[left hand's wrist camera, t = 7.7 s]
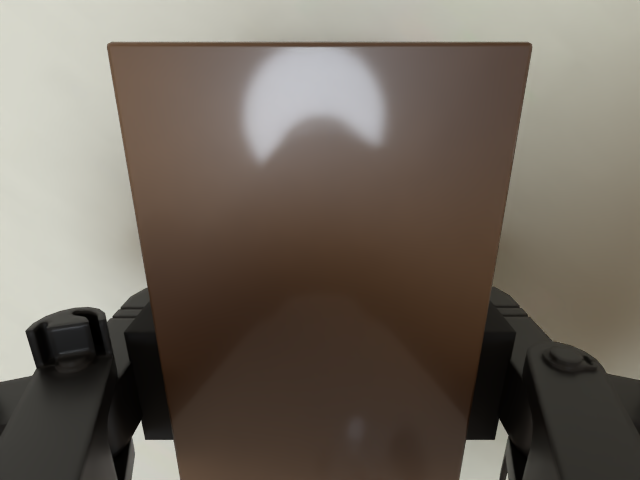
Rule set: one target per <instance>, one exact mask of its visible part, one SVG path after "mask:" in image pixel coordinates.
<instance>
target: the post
mask: <svg viewBox="0 0 640 480" xmlns="http://www.w3.org/2000/svg"><path fill="white" fill-rule="evenodd" d="M107 50H108V56H109V62H110V68H111V74H112V80H113V85H114V91H115V97H116V103H117V109H118V115H119V121H120V127H121V133H122V138H123V144H124V150H125V156H126V162H127V168H128V174H129V180H130V186H131V192H132V197H133V203H134V209H135V215H136V221H137V227H138V233H139V239H140V245H141V250H142V256H143V262H144V268H145V274H146V280H147V286H148V292H149V298H150V304H151V309H152V315H153V321H154V327H155V333H156V339H157V345H158V351H159V357H160V362H161V368H162V374H163V380H164V386H165V392H166V398H167V404H168V410H169V416H170V421H171V427H172V433H173V439H174V445H175V451H176V457H177V463H178V469H179V474H180V480H459V478H460V472H461V466H462V460H463V454H464V448H465V442H466V436H467V430H468V425H469V419H470V413H471V407H472V401H473V395H474V389H475V383H476V377H477V371H478V365H479V360H480V354H481V348H482V342H483V336H484V330H485V324H486V318H487V312H488V306H489V300H490V294H491V289H492V283H493V277H494V271H495V265H496V259H497V253H498V247H499V241H500V235H501V229H502V223H503V218H504V212H505V206H506V200H507V194H508V188H509V182H510V176H511V170H512V164H513V158H514V153H515V147H516V141H517V135H518V129H519V123H520V117H521V111H522V105H523V99H524V93H525V87H526V82H527V76H528V70H529V64H530V58H531V52H532V44H531V43H529V42H110V43H108V44H107Z"/></svg>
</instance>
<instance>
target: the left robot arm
mask: <svg viewBox="0 0 640 480" xmlns="http://www.w3.org/2000/svg"><path fill="white" fill-rule="evenodd" d="M25 332H26V335H27V338H28V341H29V345H30V348H31V351H32V355H33V358H34V361H35V365H36V368H37V369H36V370H35V372H34V374H33V376H29V377H24V378H19V379H14V380H9V381H4V382H0V480H131V479H132V472H133V464H134V457H135V451H134V445H133V440H132V436H133V434H134V432H135V430H136V428H137V426H138V425H139V423H140V421H142V426H143V431H144V436H145V440H174V439H173V433H172V427H171V421H170V416H169V410H168V404H167V398H166V392H165V386H164V380H163V374H162V368H161V362H160V357H159V351H158V345H157V339H156V333H155V327H154V321H153V315H152V309H151V304H150V298H149V292H148V288H145V289H143V290H142V291H140V292H138V293H136V294H135V295H133V296H131V297H130V298H129V299H128V300H127V301H126V302H125V303H124V304H123V306H122V307H121V309H119V310H118V311H117V312H116V313H115V314H114V315H113V318H111V319H110V320H109V321H108V322H107V320H106V316H105V313H104V312H103V311H101V310H100V309H97V308H91V307H81V308H72V309H67V310H63V311H59V312H56V313H53V314H51V315H48V316H45V317H44V318H42V319H40V320H38V321H37V322H35V323H33V324H32V325H31V326H30V327H29V328H28V329H27V330H26V331H25ZM499 419H500V421H501V423H502V424H503V426H504V428H505V430H506V432H507V433H508V440H507V445H506V449H505V454H504V458H503V463H502V468H501V472H500V479H499V480H506V476H507V473H508V478H509V480H640V380H636V379H631V378H626V377H620V376H615V375H611V374H607V373H606V372H605V370H604V368H603V367H602V365H601V364H600V363H599V362H598V361H597V360H596V359H595V358H594V357H592V356H591V355H589V354H588V353H586V352H585V351H582V350H580V349H578V348H575V347H573V346H571V345H567V344H563V343H559V342H553V341H552V340H551V339H550V338H549V337H548V336H547V335H546V334H545V333H544V332H543V331H542V330H541V328H540V327H539V326H538V325H537V324H536V323H535V322H534V321H533V320H532V319H531V318H530V317H528V315H527V313H526V312H525V311H524V310H523V309H522V308H520V306H519V305H518V304H517V303H516V302H515V301H514V300H513V298H512V297H511V296H510V295H508V294H506V293H504V292H503V291H501V290H499V289H497V288H496V287H492V289H491V294H490V300H489V306H488V312H487V318H486V324H485V330H484V336H483V342H482V348H481V354H480V360H479V365H478V371H477V377H476V383H475V389H474V395H473V401H472V407H471V413H470V419H469V425H468V430H467V436H466V440H495V436H496V431H497V426H498V421H499Z"/></svg>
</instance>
